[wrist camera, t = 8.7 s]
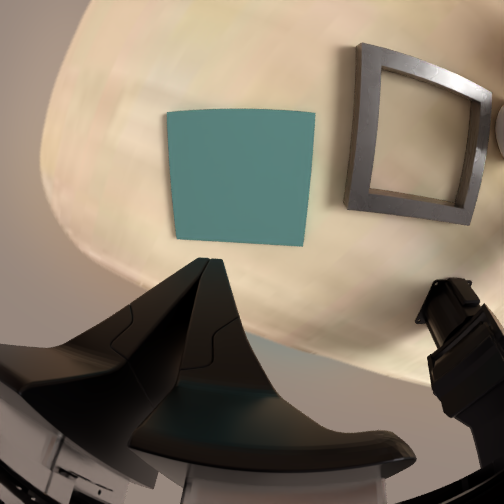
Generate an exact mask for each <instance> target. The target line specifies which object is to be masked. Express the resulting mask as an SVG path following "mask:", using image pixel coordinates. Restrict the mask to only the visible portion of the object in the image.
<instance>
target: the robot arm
mask: <svg viewBox="0 0 504 504" xmlns="http://www.w3.org/2000/svg"><path fill="white" fill-rule="evenodd" d="M436 282H438V284H437V285H435V283H436ZM468 283H470V284H468ZM471 285H472V282H471V281H470V280H465V279H459V278H450V279H449V280H435V281H434V282H433V284H432V286H431V288H430V291H429V293H428V295H427V297H426V299H425V301H424V304H423V306H422V308H421V310H420V312H419V314H418V316H417V318H416V320H415V323H416V324H426V325H427V327H428V329H429V331H430V333H431V335H432V338H433V340H434V342H435V344H436V347H437V350H436V351H435V352H434V353H432V354H430V355H429V356H428V357H427V360H428V367H429V374H430V380H431V387H432V390H433V394H434V395H435V396H437V397H438V399H439V400H440V401H441V403H442V407H443V412H444V413H445V414H446V415H447V416H448V417H450V418H452V417H454V418H455V419H457V420H458V421H460V422H462V423H463V424H465V425H466V426H468V427H470V429H471V432H472V435H473V438H474V442H475V446H476V450H477V454H478V458H479V463H480V467H481V469H480V470H478V471H476V472H474V473H472V474H470V475H468V476H466V477H464V478H462V479H460V480H458V481H456V482H453V483H451V484H449V485H447V486H445V487H442V488H440V489H437V490H434V491H432V492H429V493H427V494H424V495H421V496H418V497H415V498H412V499H409V500H406V501H402V502H399V503H396V504H504V328H503V327H502V325H501V323H500V322H499V320H498V319H497V317H496V316H495V315H494V314H493V313H492V311H491V310H490V309H489V308H488V307H487V305H486V304H485V303H484V304H483V305H482V306H480V305H479V303H480V299H479V298H478V296H477V295H476V294H475V292H474V291H473V289H472V288H471ZM419 319H420V321H418V320H419ZM417 321H418V322H417ZM416 459H417V458H416V456H415V454H414V452H413V450H412V449H411V448H410V447H409V445H408V444H406V443H405V442H404V441H403V440H402V439H400V438H399V437H398V436H397V435H395V434H394V433H393V432H390V431H385V430H377V431H366V432H357V433H342V432H336V431H333V430H329V429H327V428H325V427H323V426H321V425H319V424H318V423H316V422H315V421H313V420H312V419H311V418H309V417H308V416H306V415H305V414H303V413H302V412H301V411H299V410H298V409H296V408H295V407H294V406H292V405H291V404H289V403H288V402H287V401H285V400H284V399H283V398H282V397H281V396H280V395H279V394H278V393H277V392H276V390H275V389H274V387H273V386H272V384H271V382H270V381H269V379H268V377H267V375H266V374H265V372H264V370H263V368H262V366H261V365H260V363H259V361H258V359H257V357H256V356H255V354H254V352H253V350H252V348H251V346H250V344H249V341H248V339H247V337H246V334H245V331H244V329H243V326H242V323H241V319H240V316H239V313H238V310H237V307H236V303H235V300H234V297H233V293H232V290H231V286H230V283H229V280H228V276H227V273H226V269H225V266H224V262H223V260H222V259H213V258H212V259H209V258H197V259H195V260H194V261H192V262H191V263H189V264H188V265H186V266H185V267H183V268H182V269H180V270H179V271H177V272H176V273H174V274H173V275H171V276H170V277H168V278H167V279H165V280H164V281H162V282H161V283H159V284H158V285H156V286H155V287H153V288H152V289H150V290H149V291H147V292H146V293H144V294H143V295H142V296H140V297H139V298H137V299H136V300H134V301H133V302H131V303H130V305H127V306H125V307H124V308H122V309H121V310H120V311H118V312H116V313H115V314H113V315H112V316H110V317H109V318H107V319H106V320H104V321H102V322H101V323H99V324H97V325H96V326H94V327H92V328H90V329H89V330H87V331H85V332H84V333H82V334H80V335H78V336H76V337H75V338H73V339H71V340H69V341H68V342H66V343H64V344H62V345H59V346H56V347H51V348H38V347H26V346H16V345H6V344H0V504H124V500H125V497H126V493H127V489H128V485H129V482H132V483H134V484H138V485H140V486H143V487H147V488H150V489H154V486H155V482H156V479H157V475H158V472H160V473H161V474H163V475H164V476H166V477H167V478H168V479H170V480H171V481H173V482H174V483H176V484H177V485H179V486H181V487H182V488H183V493H182V498H181V503H180V504H387V495H386V483H385V479H386V478H389V477H391V476H393V475H395V474H396V473H399V472H400V471H402V470H404V469H406V468H408V467H410V466H411V465H413V464H414V463H415V462H416Z"/></svg>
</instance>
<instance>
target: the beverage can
mask: <svg viewBox="0 0 504 504" xmlns="http://www.w3.org/2000/svg"><path fill="white" fill-rule="evenodd" d="M495 133H496V139H497V143H498V147H499V149H500V152H501V154H502V156H503V157H504V105H503V106H502V107H501V109H500V111H499V113H498V116H497V119H496V125H495Z"/></svg>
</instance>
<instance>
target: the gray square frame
mask: <svg viewBox="0 0 504 504" xmlns="http://www.w3.org/2000/svg"><path fill="white" fill-rule="evenodd" d="M381 69H383V70H387V71H390V72H394V73H398V74H401V75H404V76H408V77H411V78H414V79H417V80H420V81H423V82H426V83H429V84H432V85H434V86H437V87H440V88H442V89H445V90H447V91H450V92H452V93H454V94H457V95H459V96H461V97H464V98H466V99H468V100H470V101H471V112H470V123H469V132H468V140H467V147H466V153H465V159H464V165H463V170H462V175H461V180H460V185H459V189H458V193H457V197H456V201H455V203H454V202H449V201H444V200H439V199H434V198H428V197H423V196H417V195H411V194H405V193H399V192H393V191H386V190H379V189H371V188H369V187H370V181H371V175H372V168H373V161H374V154H375V146H376V137H377V127H378V117H379V104H380V87H381ZM491 109H492V92H490V91H488V90H486V89H485V88H483V87H481V86H479V85H477V84H475V83H473V82H471V81H469V80H467V79H465V78H463V77H461V76H459V75H457V74H455V73H453V72H450V71H448V70H446V69H443V68H441V67H439V66H436V65H434V64H431V63H429V62H426V61H423V60H420V59H418V58H415V57H412V56H409V55H406V54H403V53H399V52H396V51H393V50H389V49H386V48H382V47H378V46H374V45H370V44H366V43H360V44H359V45H357V46H356V76H355V97H354V113H353V125H352V136H351V146H350V156H349V164H348V172H347V180H346V187H345V194H344V201H343V203H344V205H345V207H346V208H347V210H356V211H366V212H375V213H384V214H392V215H400V216H408V217H415V218H422V219H429V220H436V221H443V222H449V223H455V224H461V225H467V226H469V225H470V222H471V219H472V215H473V212H474V208H475V205H476V201H477V197H478V193H479V189H480V185H481V180H482V176H483V171H484V165H485V160H486V154H487V148H488V140H489V132H490V122H491Z"/></svg>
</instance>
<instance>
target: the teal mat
mask: <svg viewBox="0 0 504 504" xmlns="http://www.w3.org/2000/svg"><path fill="white" fill-rule="evenodd" d="M314 128H315V113H311V112H301V111H288V110H270V109H206V110H189V111H176V112H167V130H168V150H169V166H170V179H171V191H172V201H173V211H174V220H175V229H176V237H177V239H184V240H202V241H220V242H237V243H254V244H270V245H286V246H302V247H303V242H304V234H305V226H306V217H307V208H308V199H309V189H310V178H311V167H312V155H313V142H314Z"/></svg>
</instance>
